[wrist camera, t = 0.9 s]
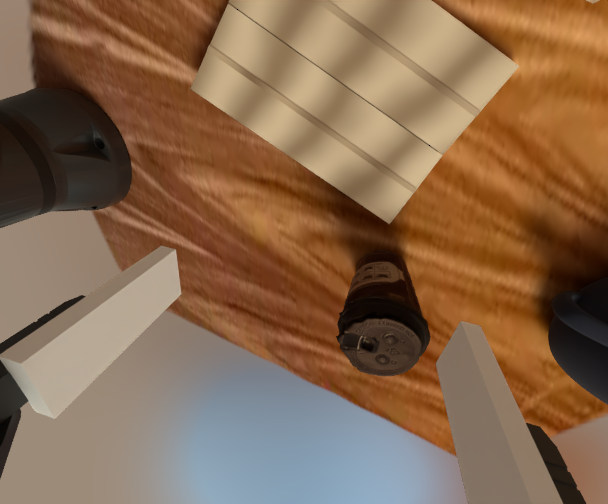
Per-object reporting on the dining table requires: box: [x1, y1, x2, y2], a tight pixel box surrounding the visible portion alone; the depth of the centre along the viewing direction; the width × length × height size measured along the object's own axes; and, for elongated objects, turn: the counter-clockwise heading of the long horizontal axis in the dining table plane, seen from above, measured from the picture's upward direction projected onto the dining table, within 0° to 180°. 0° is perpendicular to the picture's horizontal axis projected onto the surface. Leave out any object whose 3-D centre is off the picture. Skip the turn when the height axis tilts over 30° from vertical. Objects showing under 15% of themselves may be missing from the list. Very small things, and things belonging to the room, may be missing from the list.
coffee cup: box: [336, 250, 430, 376], centre depth 29 cm, size 9×8×13 cm
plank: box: [190, 4, 442, 224], centre depth 27 cm, size 24×8×1 cm, turn 59°
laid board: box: [228, 0, 519, 154], centre depth 23 cm, size 24×8×1 cm, turn 59°
